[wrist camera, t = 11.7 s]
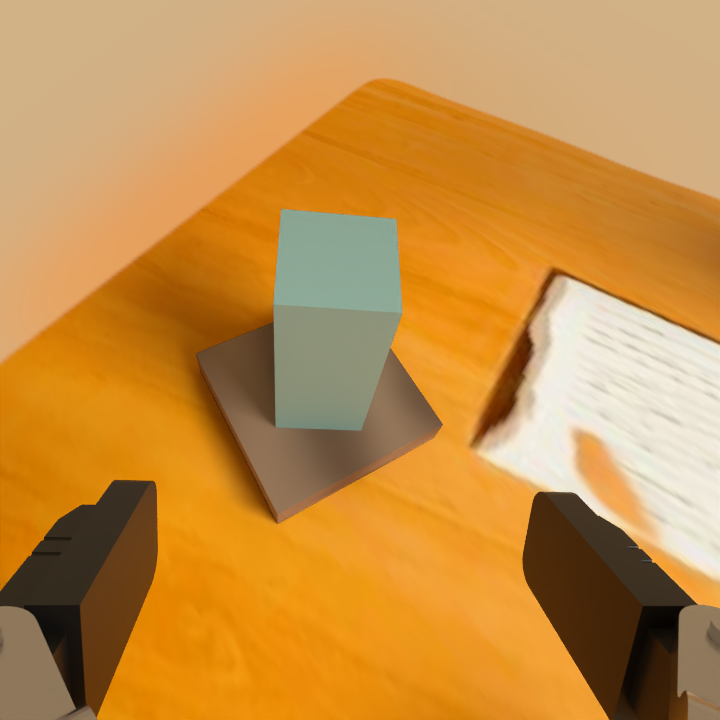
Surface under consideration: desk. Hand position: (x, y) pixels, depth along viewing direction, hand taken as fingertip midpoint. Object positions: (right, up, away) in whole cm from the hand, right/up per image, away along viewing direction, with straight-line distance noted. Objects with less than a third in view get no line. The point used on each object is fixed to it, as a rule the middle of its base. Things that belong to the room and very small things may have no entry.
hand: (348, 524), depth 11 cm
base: (-2, +1, +20) cm, 20 cm away
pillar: (-2, +2, +18) cm, 18 cm away
